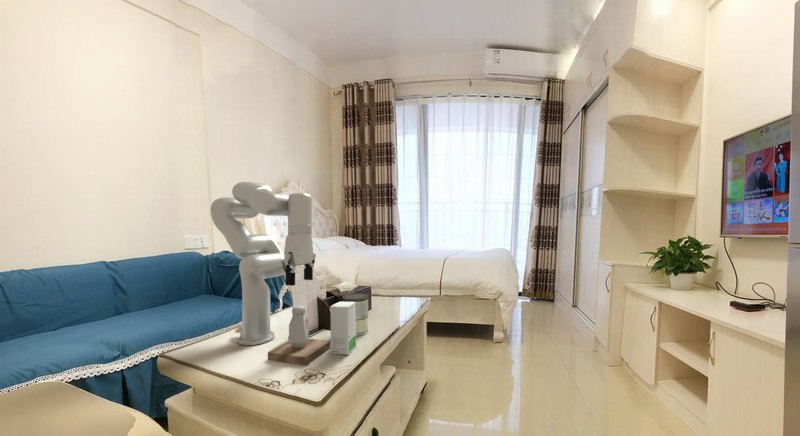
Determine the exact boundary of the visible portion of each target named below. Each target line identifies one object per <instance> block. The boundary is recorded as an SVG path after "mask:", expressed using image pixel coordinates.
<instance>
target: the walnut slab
mask: <svg viewBox="0 0 800 436" xmlns="http://www.w3.org/2000/svg"><path fill="white" fill-rule="evenodd" d="M329 350H331V340H324V339H315V338H308V340H307V343H306V345H305V346H304V347H303V348H299V349H296V348H293V347H292V345H291V343H290V341H289V340H288V341H285V342H283V343H282V344H280V345H278V346H277V347H275V348H273V349H271V350H270V351H267V361H271V362H277V363H284V364H292V365H298V366H305V367H307V366H308V365H310V364H311V363H313V362H314V361H315V360H317V359H318V358H319V357H320V356H322V355H323V354H324V353H326V352H327V351H329Z"/></svg>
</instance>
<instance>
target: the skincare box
mask: <svg viewBox="0 0 800 436" xmlns="http://www.w3.org/2000/svg"><path fill="white" fill-rule="evenodd" d="M329 308H330V309H329V310H330V315H329V316H330V355H341V356H349V355H350V354H351V353H352V351H353V350H354V349H355V348H356V347H357V336H356V308H355V302H343V301H338V302H336V303H334V304H332V305H331V306H330V307H329Z"/></svg>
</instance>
